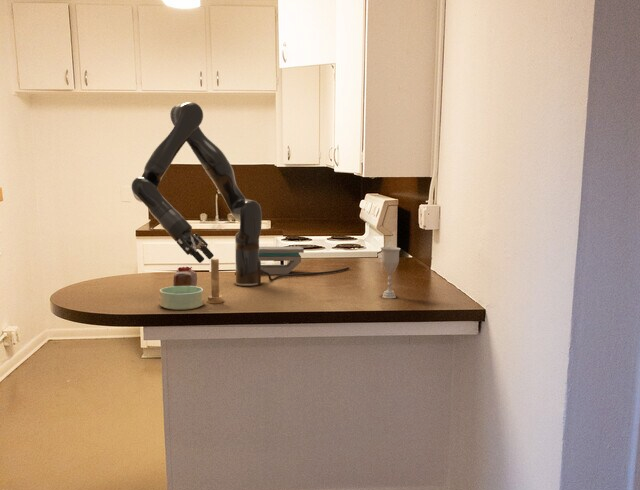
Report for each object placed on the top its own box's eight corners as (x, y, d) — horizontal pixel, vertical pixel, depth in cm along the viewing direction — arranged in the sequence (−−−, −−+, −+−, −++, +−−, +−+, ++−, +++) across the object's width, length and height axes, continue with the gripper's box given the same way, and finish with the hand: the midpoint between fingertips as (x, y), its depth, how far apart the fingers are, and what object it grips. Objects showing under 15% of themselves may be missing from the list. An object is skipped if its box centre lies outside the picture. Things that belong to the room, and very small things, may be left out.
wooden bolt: (220, 299, 233) (220, 257, 230) (224, 302, 228) (223, 260, 225) (206, 300, 231) (205, 258, 228) (209, 303, 226) (209, 260, 223)
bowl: (198, 300, 232) (198, 284, 231) (207, 308, 219) (207, 292, 218) (157, 302, 227) (156, 287, 226) (163, 311, 214) (163, 295, 213)
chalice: (400, 296, 245) (402, 247, 241) (396, 299, 238) (398, 250, 235) (381, 294, 247) (383, 246, 243) (376, 297, 241) (378, 248, 237)
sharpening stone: (245, 274, 282) (245, 249, 280) (244, 271, 290) (244, 246, 288) (303, 274, 286) (303, 249, 284) (301, 271, 293) (301, 246, 291)
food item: (176, 289, 249) (175, 263, 248) (197, 289, 250) (197, 263, 248) (172, 296, 236) (171, 269, 234) (195, 296, 237) (194, 269, 235)
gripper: (173, 219, 219) (206, 255, 219) (190, 215, 233) (221, 249, 233) (159, 234, 221) (191, 269, 221) (177, 230, 235) (207, 263, 235)
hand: (207, 259), depth 227 cm, fingers open, 8 cm apart
